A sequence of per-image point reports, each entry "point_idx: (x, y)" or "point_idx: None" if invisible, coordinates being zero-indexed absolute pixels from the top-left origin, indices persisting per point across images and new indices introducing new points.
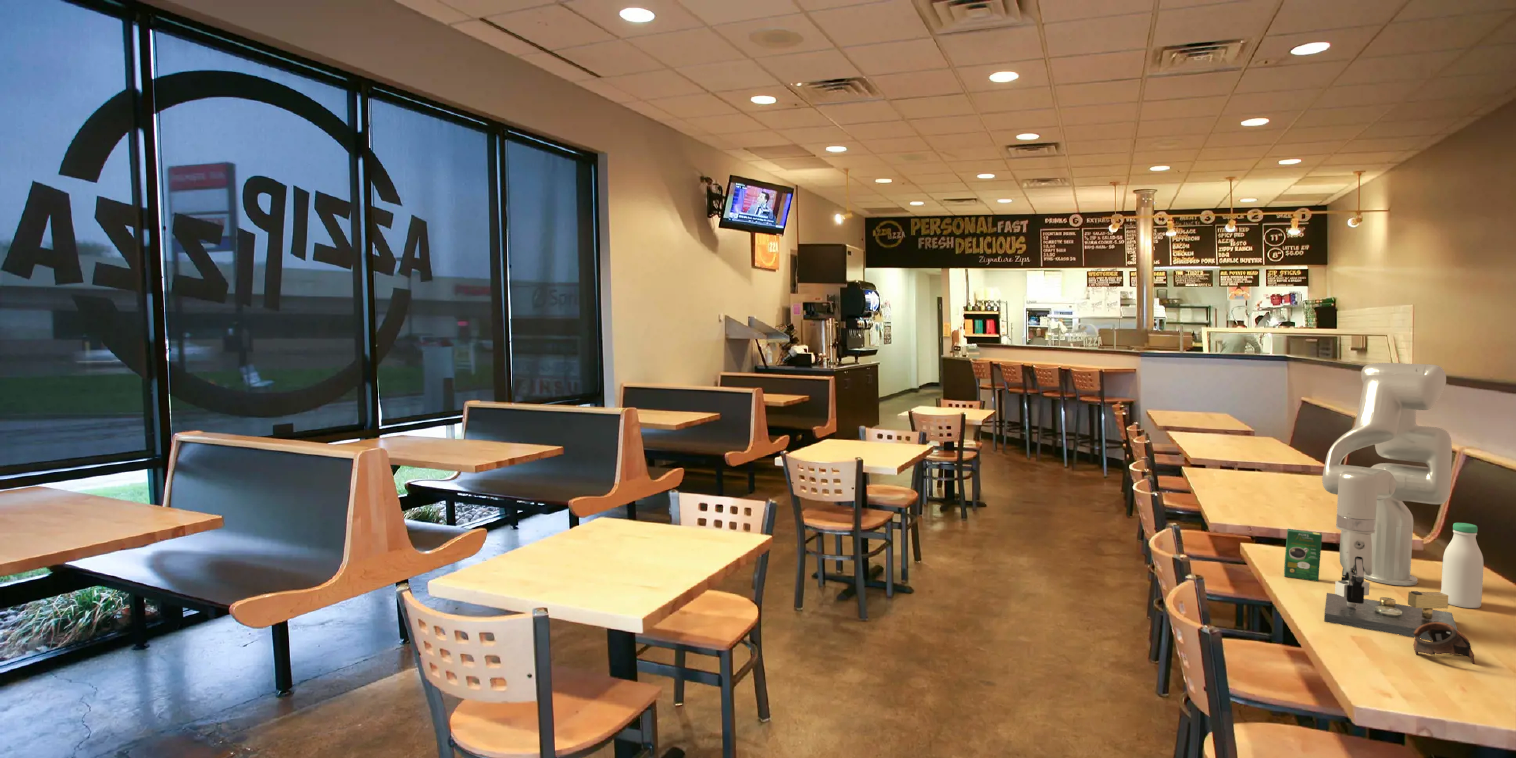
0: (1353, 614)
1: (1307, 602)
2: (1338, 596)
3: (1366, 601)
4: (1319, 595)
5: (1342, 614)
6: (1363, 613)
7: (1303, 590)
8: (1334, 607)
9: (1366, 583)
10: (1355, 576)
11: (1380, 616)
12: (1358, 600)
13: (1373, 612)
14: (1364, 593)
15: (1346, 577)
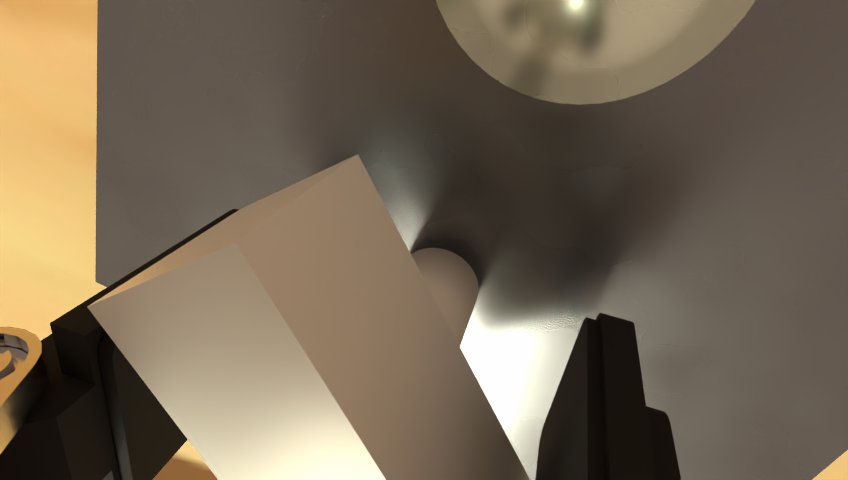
0: (712, 382)
1: None
2: (153, 237)
3: (187, 27)
4: (50, 240)
5: (726, 476)
6: (665, 270)
7: (3, 290)
8: (507, 428)
9: (292, 313)
10: (34, 392)
11: (775, 121)
12: (654, 411)
13: (605, 136)
14: (389, 245)
15: (104, 473)
